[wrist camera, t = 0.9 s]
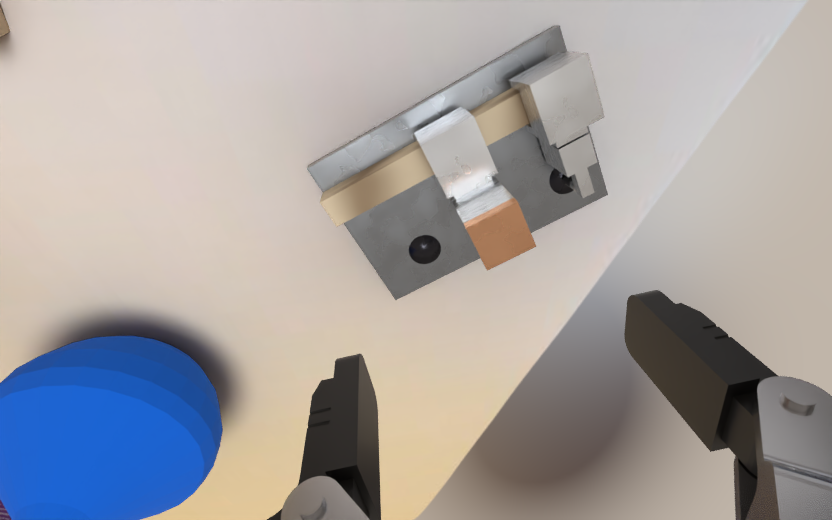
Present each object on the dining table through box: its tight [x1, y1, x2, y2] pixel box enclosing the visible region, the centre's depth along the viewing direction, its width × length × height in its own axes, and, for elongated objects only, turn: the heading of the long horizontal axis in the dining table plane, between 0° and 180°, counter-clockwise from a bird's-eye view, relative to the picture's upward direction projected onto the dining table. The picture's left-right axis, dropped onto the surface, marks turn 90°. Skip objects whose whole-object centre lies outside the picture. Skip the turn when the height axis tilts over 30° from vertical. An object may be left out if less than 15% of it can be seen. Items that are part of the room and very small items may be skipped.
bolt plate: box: [307, 26, 608, 300], centre depth 36 cm, size 22×15×1 cm
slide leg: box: [414, 107, 536, 270], centre depth 30 cm, size 4×11×10 cm, turn 28°
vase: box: [0, 336, 222, 520], centre depth 35 cm, size 18×18×19 cm
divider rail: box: [320, 88, 530, 227], centre depth 32 cm, size 22×2×2 cm, turn 117°
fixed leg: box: [509, 52, 604, 198], centre depth 31 cm, size 4×11×5 cm, turn 28°
